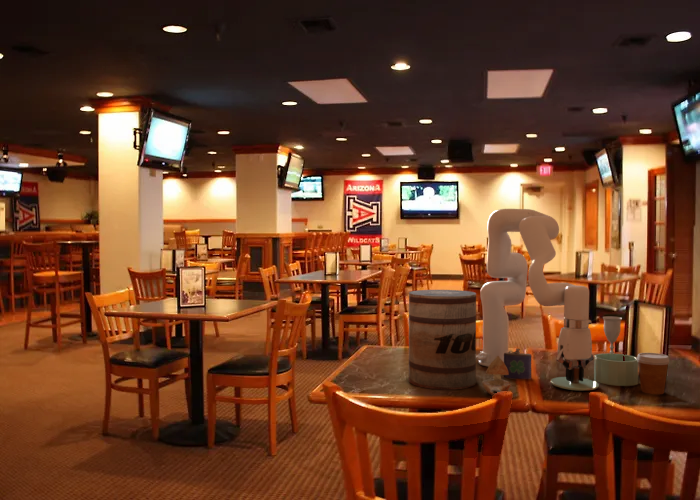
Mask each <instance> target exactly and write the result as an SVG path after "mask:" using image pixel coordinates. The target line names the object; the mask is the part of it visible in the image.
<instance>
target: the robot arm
mask: <svg viewBox="0 0 700 500" xmlns="http://www.w3.org/2000/svg"><path fill="white" fill-rule="evenodd" d="M486 227H487V228H486V229H487V237H488V240H487V241H488V244H487V253H486V255H487V256H486V273H487V275H488V276H489V277H491V278H494V279H507V280H493V281H487V282H486V283H484V284H483V285H482V287H480V294H479V295H480V300H481V306H482V351H479V353H478V354H476V361H478V364H479V365H481V366H483V367H487V368H488V367H489V365H490V364H491V363H492V361H493V360H494V359H495V358H496V357H497V356H499V357H500V358H501V360H502V361H503V362H504V353H506V352H509V339H510V337H509V333H510V332H509V331H510V330H509V329H510V327H509V326H510V325H509V323H510V321H509V315H508V313H507V311H506V309H505V307H509V306H518V305H520V304H522V303H523V302H524V300H525V299H526V294H527V293H526V292H527V282H528V285H529V288H530V290H531V293H532V295H533V297H534V299H535V301H536V302H537V303H538V304H539V305H540V306H543V307H560V306H561V307H562V306H563V327H561V328H560V331H559V336H558V342H557V357H556V359H555V360H556V362H558V363H559V364H561V365H562V366H563V367H564V368H565V377H566V380H568V381H570V382H573V381H574V370H573V369H572V366H574V365H573V364H574V361H576V363H577V364H576V365H577V367H579V368H580V369H579V381H583V378H584V377H585V373H584V372H585V369H586V367H587V365H588V364H589V363H591V362H592V361H594V355H593V341H592V334H591V333H592V332H591V328H589V325H591V324H592V320H591V319H590V317H589V315H590V314H589V313H590V289H589V287H588V286H585V285H575V284H572V283H570V282H549V283H548V281H547V279H546V276H545V274H544V265H546V264H548V263H549V262H551V261H553V259H554V258H555V257H556V255H557V252H556V249H555V247H554V245H553V243H552V240H554V239H556V238H557V237H558V236H559V232H560V225H559V223H558V221H557V220H556V219H555V218H554V217H552V216H550V215H548V214H545V213H543V212H539V211H537V210H534V209H530V208H500V209H497V210H494V211H493V212H492V213H491V214H490V215H489V217H488V219H487V225H486ZM509 233H519V234H520V237H521V239H522V241H523V244H524V246H525V248H526V251H527V253H528V255H529V258H530V261H531V263H530V266H529V267H528V261H527V259H526V257H525V256H524V255H523V254H522V253H519V252H512V239H511V236H510V235H509ZM527 280H528V281H527Z"/></svg>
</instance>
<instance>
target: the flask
mask: <svg viewBox="0 0 700 500" xmlns="http://www.w3.org/2000/svg"><path fill="white" fill-rule="evenodd" d="M520 350H521V348H515V351H512V352H511V350H508V352H506V353H504V364H505V365H506V367H507V369H508V373H509V375H503V378H504V379H511V380H512V379H514V380H531V379H532V354H531V353H522V352H521V351H520Z"/></svg>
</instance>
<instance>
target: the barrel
mask: <svg viewBox="0 0 700 500" xmlns="http://www.w3.org/2000/svg"><path fill="white" fill-rule="evenodd" d="M476 355H477V293H476V292H474V291H469V290H460V289H419V290H418V289H417V290H412V291H409V292H408V382H409V383H410V384H412V385H413V386H416V387H420V388H425V389H432V390H462V389H467V388H471V387H473V386H475V385H476V383H477V382H476V380H477V378H476V377H477V376H476V374H477V365H476V364H477V359H476Z"/></svg>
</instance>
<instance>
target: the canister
mask: <svg viewBox="0 0 700 500" xmlns="http://www.w3.org/2000/svg"><path fill="white" fill-rule="evenodd" d="M623 356H624V357H625V361H623ZM593 357H594V359H593V381H595V382H597V383H598V384H603V385H609V386H618V387H630V386H631V387H632V386H637V385H639V383H640V375H639V367H638V361H637V359H636V358H637V357H638V356H634V355H630V354H625V355H624V354H623V353H610V352H609V353H608V352H607V353H604V352H603V353H598V354H597V353H596V354H595V355H593Z"/></svg>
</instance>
